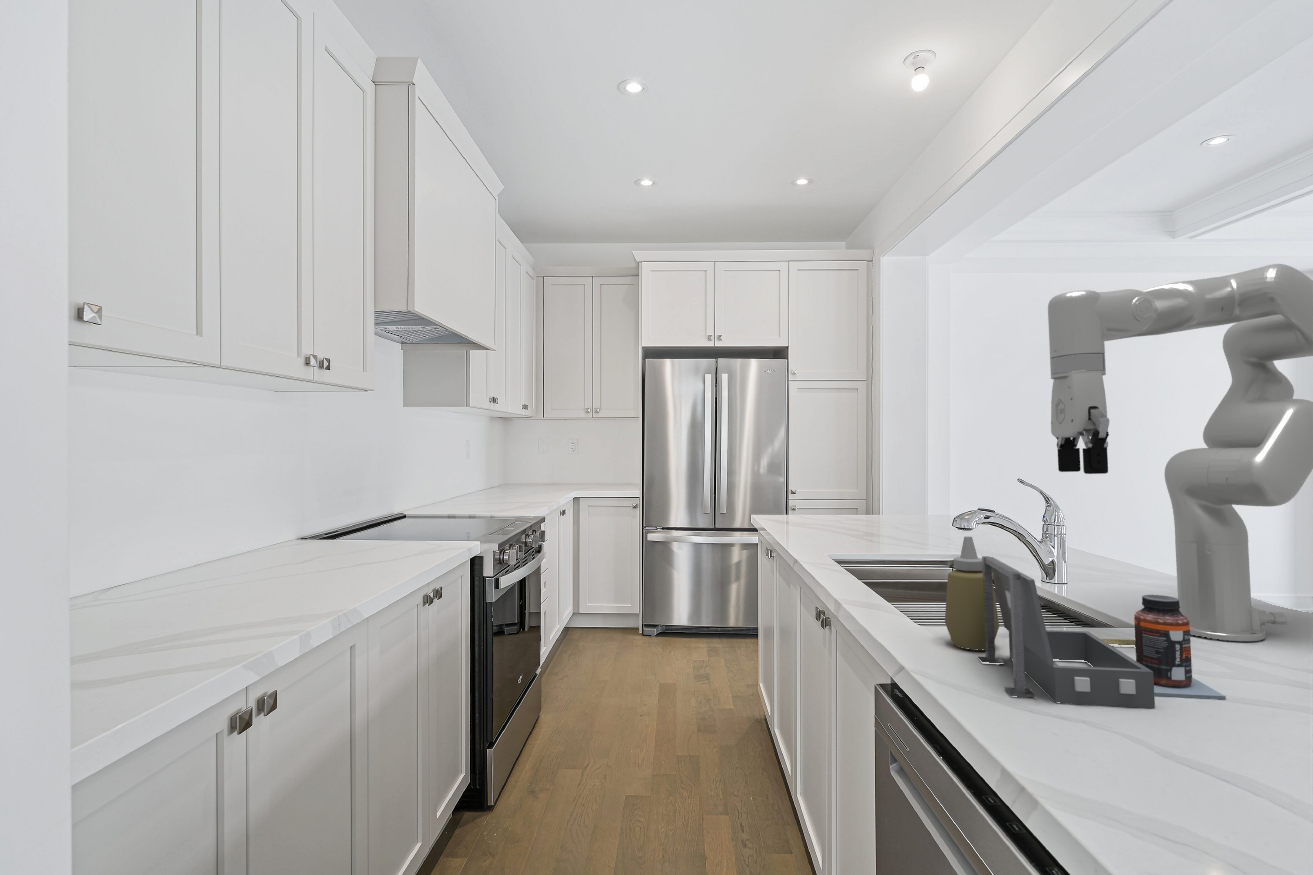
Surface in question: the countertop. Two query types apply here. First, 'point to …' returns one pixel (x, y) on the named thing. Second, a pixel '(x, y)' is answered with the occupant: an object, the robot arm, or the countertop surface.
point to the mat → (1188, 691)
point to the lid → (1024, 613)
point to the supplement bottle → (1164, 640)
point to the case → (1090, 672)
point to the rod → (1119, 641)
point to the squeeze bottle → (967, 600)
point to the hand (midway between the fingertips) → (1082, 472)
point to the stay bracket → (1016, 624)
